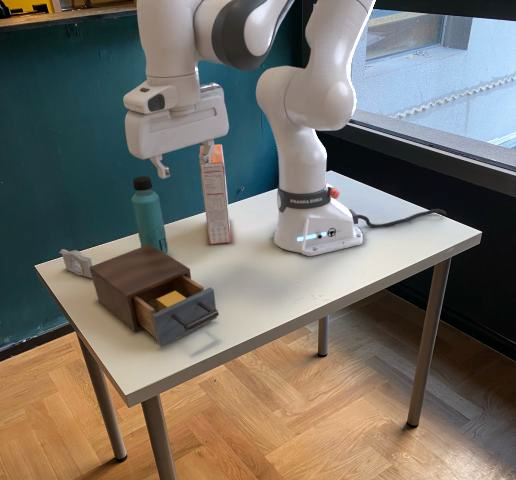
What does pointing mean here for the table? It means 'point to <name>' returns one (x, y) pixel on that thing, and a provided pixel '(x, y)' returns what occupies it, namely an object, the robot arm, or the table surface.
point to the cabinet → (133, 279)
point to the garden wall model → (82, 261)
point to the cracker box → (216, 197)
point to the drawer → (175, 309)
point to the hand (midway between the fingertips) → (185, 170)
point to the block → (169, 300)
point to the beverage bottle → (149, 215)
